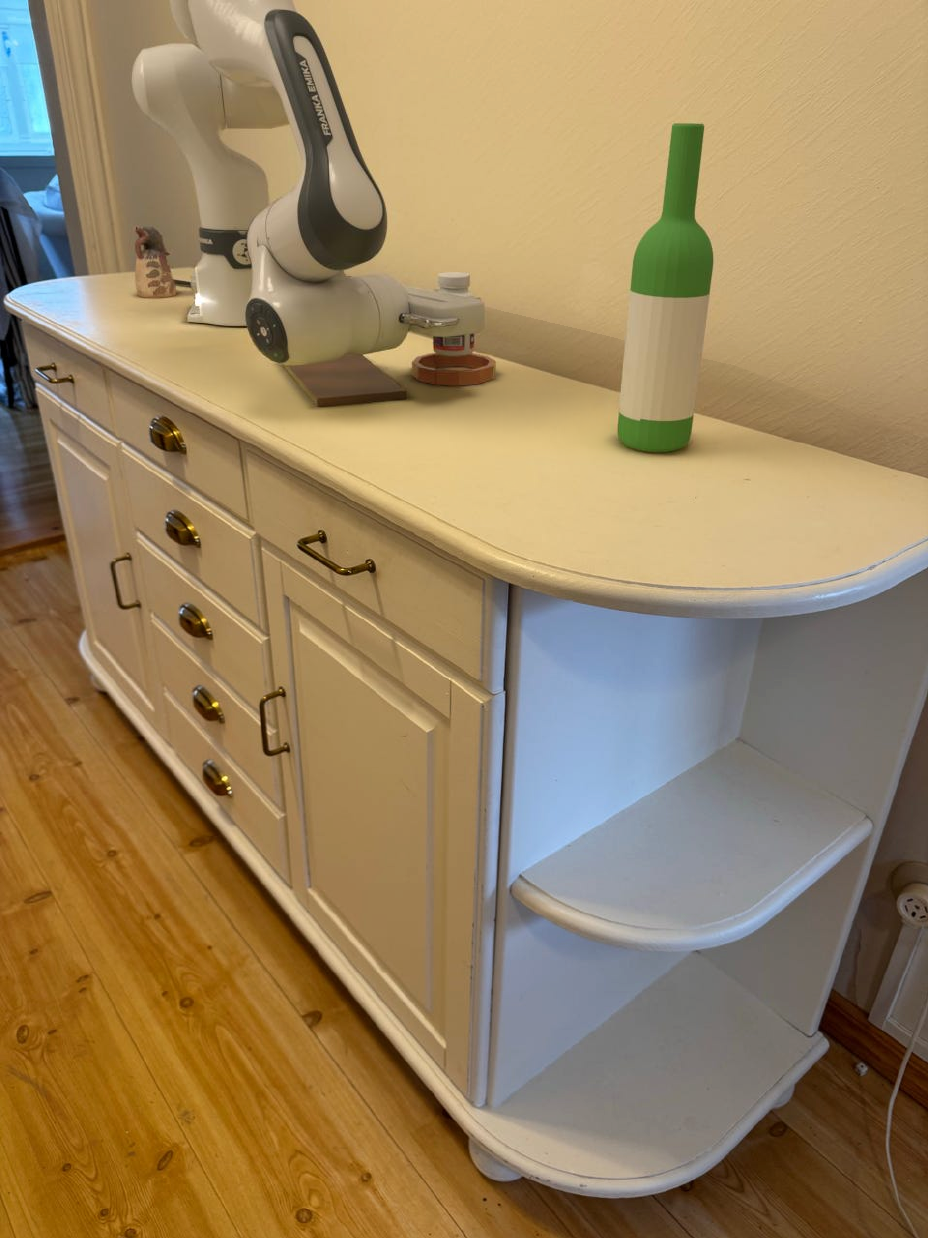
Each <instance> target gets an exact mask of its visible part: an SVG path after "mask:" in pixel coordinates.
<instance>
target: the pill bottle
mask: <svg viewBox="0 0 928 1238" xmlns="http://www.w3.org/2000/svg"><path fill="white" fill-rule="evenodd" d="M470 275H471V274H469V273H468V272H460V271H447V272H445V271H444V272H440V273H438V276H437V277H438V278H437V284H438V287H439V290H440V291H438V292H443V293H448V294H453V295H458V296H463V297H469V296H474V297H475V295H474V293H473V292H472V291H470V290H469V287H470V286H471V285H470V284H471V279H470V278H471V277H470ZM432 347H433V353H437V354H440V355H444V356H464V355H468V354H471V353H474V351H475V333H474V334H467V335H459V336H450V337H435V336H432Z"/></svg>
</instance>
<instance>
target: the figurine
mask: <svg viewBox="0 0 928 1238" xmlns="http://www.w3.org/2000/svg"><path fill="white" fill-rule="evenodd" d="M134 231H135V233H136V234H137V236H138V237H137V239H136V240H135V242H134V250H135V251H134V252H135V253H136V261H135V270H134V271H135V272H134V277H135V279H134V281H135V288H136V293H137V295H138V297H141V298H148V299H158V298H159V299H160V298H171V297H174V296H175V295H177V293H178V292H177V287H176V286H177V284H175V282H174V280H173V279H174V277H173V274H172V270H171V267H170V263H169V260H168V258H167V257H168V256H170V255H171V254H170V251H168V250H167V248H166V246H165V244H164V241H163V233H161V232H160V231H158V229H156V228H155V227H154V226H152V225H145V226H143V227H142V228H141V227H140V226H135V227H134ZM142 246H143V249H142Z"/></svg>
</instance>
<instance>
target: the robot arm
mask: <svg viewBox="0 0 928 1238" xmlns="http://www.w3.org/2000/svg"><path fill="white" fill-rule="evenodd" d="M169 5H170V11H171V15H172V19H173V21H174V23H175V25H176V26H177V28H178V30H179V31H180V33H181V34H182V35H183V36H184V38H185V39H186V40H187V41H188V42H189V43H188V42H187V43H185V42H183V43H181V42H172V43H166V44H160V45H155V46H150V47H147V48H143V49H141V51H140V52H139V54H138V55H137V56H136V59H135V61H134V63H133V66H132V70H131V86H132V87H131V88H132V93H133V95H134V98H135V101H136V103H137V106H139V108H140V110H141V111H142V113H143V114H144V115H145V117H147V118H148V119H149V120H150V121H151V122H152V123H154V125H156V126H157V127H159V129H161V130H162V131H163V132H165V134H166V135H168V136H169V138H170V139H171V140H172V141H173V143H174V144H175V145H176V146H177V147H178V149H179V151H180V152H181V153H182V155H183V157H184V159H185V160H186V163H187V165H188V167H189V170H190V172H191V176H192V179H193V183H194V188H195V189H194V190H195V194H196V199H197V205H198V213H199V219H200V226H199V228H198V235H199V236H198V241H199V248H200V251H201V252H202V255H201V258H200V260H199V261H198V263H197V264H196V266H195V267H194V272H192V273H191V276H190V277H189V281H188V280H180V279H174V278H173V280H174V282H175V285H183V286H189V287H190V289H191V291H192V292H193V291H196V292H194V294H193V297H194V301H193V303H192V305H191V307H190V309H189V310H188V311H189V312H188V314H187V322H188V323H196V324H197V323H198V324H200V323H201V324H210V325H215V326H216V325H217V326H226V327H227V326H228V327H231V326H232V327H244V326H245V327H246V329H247V332H248V334H249V337H250V339H251V341H252V343H253V344H254V346H255V348H256V349H257V350H258V352H260V353H261V354H262V355H263V356H264V357H265V358H266V359H268V360H269V361H271V362H274V363H276V364H280V365H282V364H284V365H307V364H316V363H323V362H328V361H334V360H337V359H339V358H341V357H343V356H344V355H347V354H353V355H363V356H365V355H369V354H374V353H379V352H380V353H381V352H383V351H390V350H395V349H397V348H399V347H400V346H401V345H402V344H403V343H404V342H405V340H406V338H407V336H408V333H409V332H412V333H417V334H421V335H426V336H429V337H433V336H435V337H450V336H459V335H467V334H474V335H475V334H479V333H481V332H482V331H484V329H485V324H486V304H485V301H484V300H482V298H481V297H479V296H475V295H474V296H469V297H463V296H458V295H453V294H448V293H443V292H438V291H440V288H430V289H428V288H423V287H417V286H414V285H407V284H402V283H400V282H399V281H398V280H396V278H394V276H392V275H390V274H388V273H386V272H376V273H369V274H359V275H353V276H351V275H347V274H346V273H345V271H346V270H349V269H352V268H354V267H357V266H360V265H362V264H364V263H367V262H369V261H371V260H372V259H374V258H375V257H376V256H377V255H378V254H379V253H380V251H381V250H382V248H383V246H384V244H385V241H386V238H387V234H388V233H387V232H388V212H387V205H386V202H385V199H384V196H383V194H382V192H381V189H380V188H379V186H378V184H377V183H376V180H375V179H374V177H373V175H372V173H371V171H370V169H369V167H368V166H367V164H366V162H365V159H364V157H363V155H362V152H361V150H360V148H359V147H360V146H359V144H358V142H357V138H356V136H355V132H354V129H353V127H352V124H351V122H350V118H349V116H348V115H349V114H348V113H347V109H346V106H345V104H344V101H343V98H342V95H341V92H340V90H339V87H338V84H337V81H336V78H335V75H334V72H333V70H332V67H331V64H330V60H329V59H328V56H327V53H326V50H325V49H324V47H323V46H324V45H322V44H323V43H322V41H321V39H320V37H319V36H318V33H317V32H316V30H315V29H314V27H313V26H312V24H311V22H309V21H308V19H307V18H305V16H303V15H302V14H300V13H299V12H297V10H296V6H295V4H294V1H293V0H169ZM286 126H290V129H291V131H292V135H293V138H294V140H295V143H296V146H297V150H298V152H299V155H300V158H301V159H300V160H301V171H300V175H299V178H298V181H297V183H296V185H295V186H294V187H292V188H291V189H289V190H288V191H287V192H286V193H285V194H283V195H282V196H280V197H279V198H277V199H276V200H274V201H272V203H271V200H270V199H271V198H270V187H269V179H268V176H267V174H266V172H265V170H264V169H263V167H261V166H260V165H259V164H258V163H257V162H256V161H254V160H253V159H251V158H249V157H247V156H246V155H244V154H242V153H240V152H237V151H236V150H233V149H232V148H231V147H229V146H228V145H227V144H226V142H225V140H224V139H223V136H222V133H223V131H224V130H228V129H229V130H230V129H231V130H232V129H233V130H239V129H240V130H245V129H246V130H273V129H277V128H281V127H282V128H283V127H286Z"/></svg>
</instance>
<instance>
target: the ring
mask: <svg viewBox="0 0 928 1238" xmlns="http://www.w3.org/2000/svg"><path fill="white" fill-rule="evenodd" d="M496 366H497V361H496V360H495V359H493V358H492V357H490V356H488V355H484V354H481V353H474V352H472V353H471V354H468V355H464V356H444V355H440V354H437V353H435V352H430V353H426V354H423V355H422V354H421V355H418V356H416V357H415V358H414V359H413V360H412V362H411V376H412V377H413V378H414V379H416V380H417V381H419V382H421V383H427V384H431V385H437V386H451V387H452V386H453V387H456V386H458V387H461V386H471V385H480V384H483V383H487V382H491V381H492V380H494V378H495V377H496V373H497V371H496V369H497V367H496ZM445 367H446V368H447V367H461V368H467V369H441V368H445ZM439 368H440V369H439ZM469 368H470V369H469Z"/></svg>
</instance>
